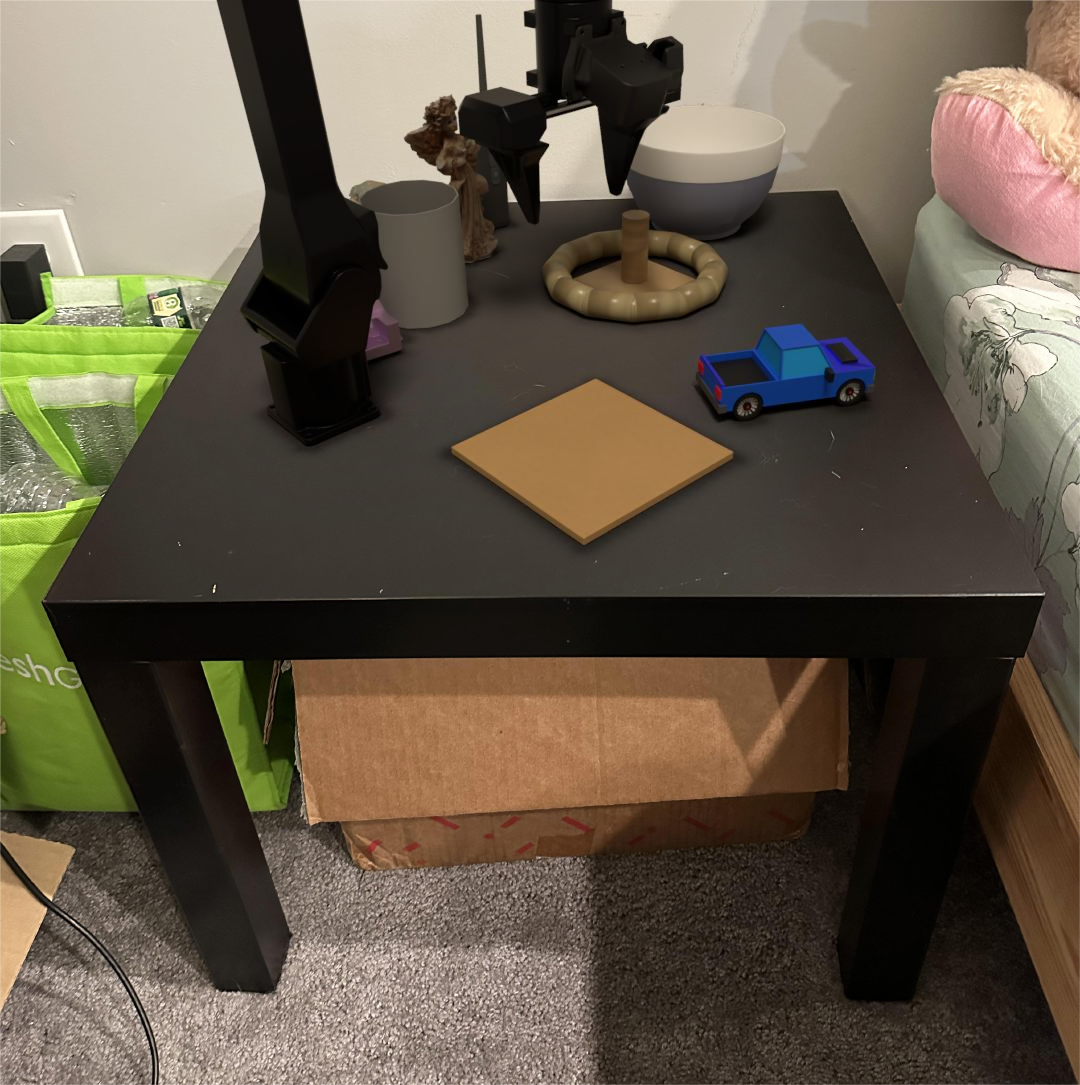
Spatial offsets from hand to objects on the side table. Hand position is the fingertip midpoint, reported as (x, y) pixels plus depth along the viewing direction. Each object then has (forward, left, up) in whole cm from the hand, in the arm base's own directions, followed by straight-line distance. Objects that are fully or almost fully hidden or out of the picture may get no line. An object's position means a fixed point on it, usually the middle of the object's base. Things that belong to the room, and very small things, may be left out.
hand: (575, 208), depth 79 cm
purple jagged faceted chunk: (-18, +8, -9) cm, 22 cm away
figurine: (0, +17, -9) cm, 19 cm away
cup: (-10, +10, -9) cm, 17 cm away
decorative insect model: (-2, +29, -9) cm, 30 cm away
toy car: (+1, -22, -9) cm, 24 cm away
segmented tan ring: (+7, 0, -8) cm, 11 cm away
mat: (-15, -18, -9) cm, 25 cm away
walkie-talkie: (+7, +22, -9) cm, 25 cm away
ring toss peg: (+7, 0, -9) cm, 12 cm away
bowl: (+22, +6, -9) cm, 25 cm away
